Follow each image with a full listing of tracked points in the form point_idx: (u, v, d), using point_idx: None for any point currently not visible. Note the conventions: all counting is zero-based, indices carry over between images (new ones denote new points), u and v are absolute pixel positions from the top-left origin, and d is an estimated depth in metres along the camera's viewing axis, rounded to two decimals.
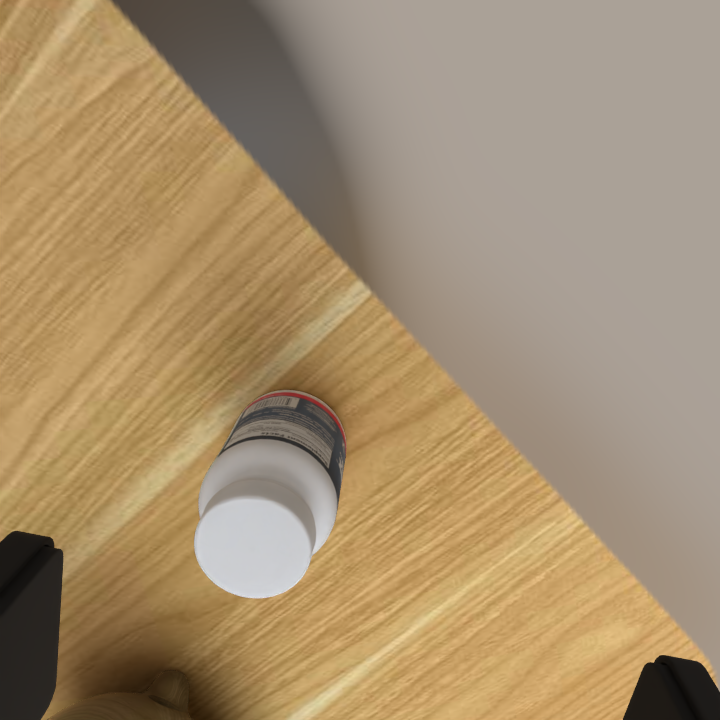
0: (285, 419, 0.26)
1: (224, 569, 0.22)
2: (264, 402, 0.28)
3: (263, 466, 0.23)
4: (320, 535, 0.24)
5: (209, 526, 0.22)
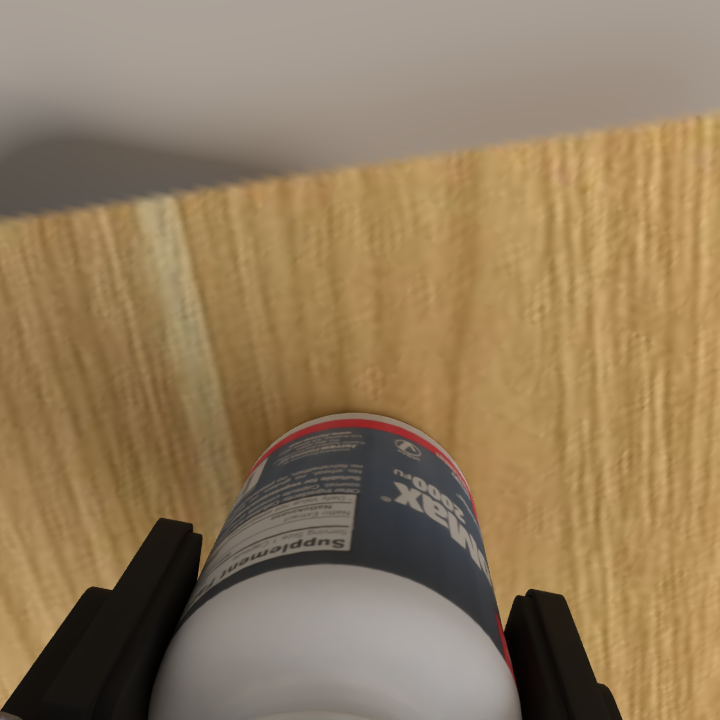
0: (230, 531, 0.11)
1: None
2: None
3: (197, 705, 0.08)
4: (475, 707, 0.08)
5: None
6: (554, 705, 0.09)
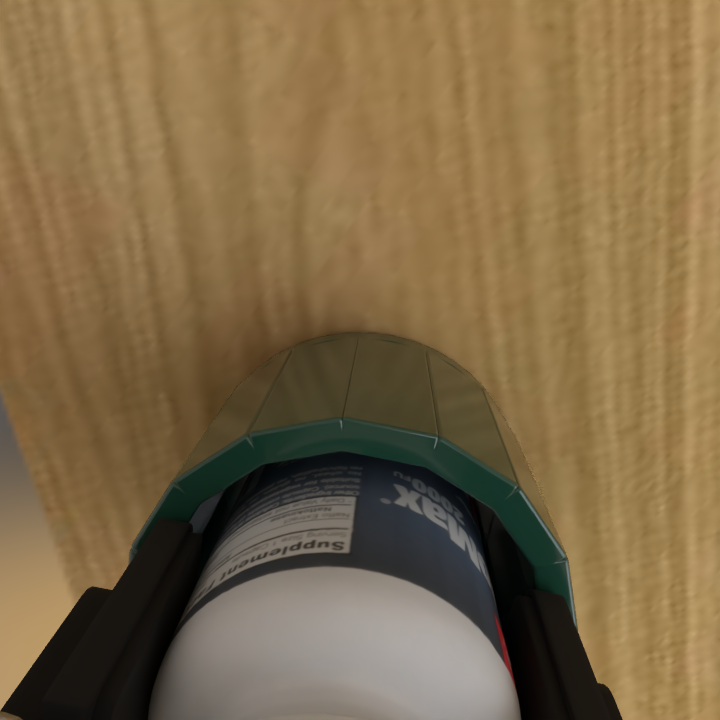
0: (230, 533, 0.11)
1: None
2: None
3: (197, 708, 0.08)
4: (474, 709, 0.08)
5: None
6: (554, 705, 0.09)
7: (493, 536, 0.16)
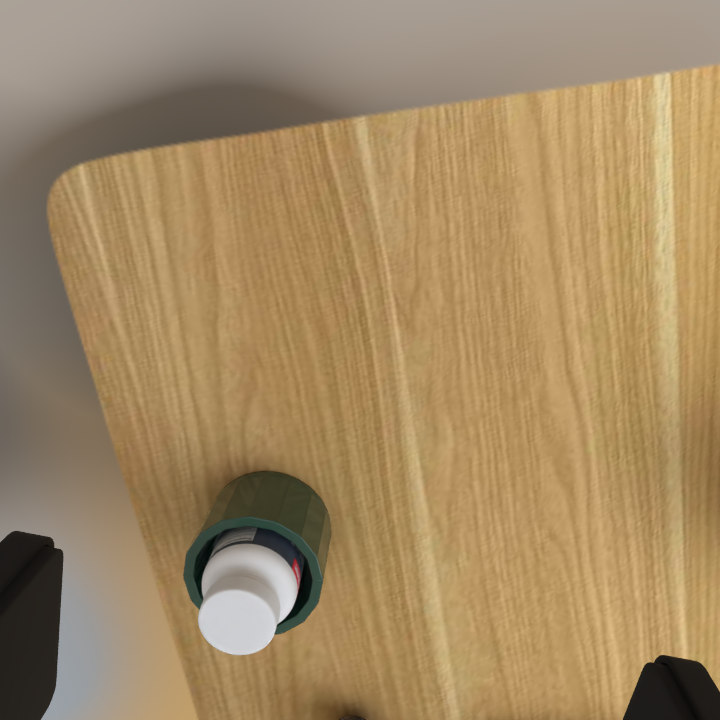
0: (223, 535, 0.38)
1: (240, 643, 0.33)
2: None
3: (214, 576, 0.35)
4: (279, 576, 0.35)
5: (208, 633, 0.33)
6: None
7: None
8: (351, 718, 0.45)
